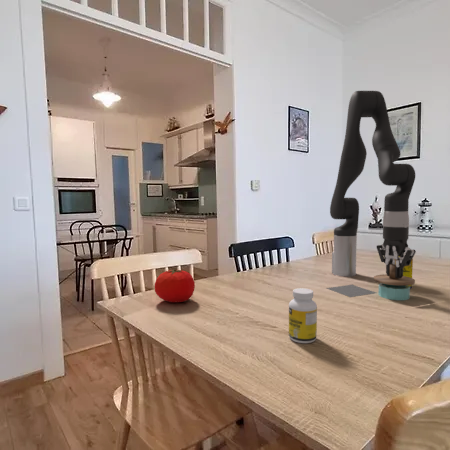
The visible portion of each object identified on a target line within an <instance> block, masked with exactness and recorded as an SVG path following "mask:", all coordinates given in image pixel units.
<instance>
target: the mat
mask: <svg viewBox="0 0 450 450" xmlns="http://www.w3.org/2000/svg"><path fill="white" fill-rule="evenodd" d="M325 289H327V290H329V291H332V292H335V293H338V294H340V295H342V296H346V297H348V298H354V297H360V296H361V297H362V296H366V295H368V296H369V295H372V294H377V292H376V291H372V290H370V289H368V288H367V289H366V288H363V287H361V286H357V285H354V284H346V285H340V286H332V287H326V288H325Z"/></svg>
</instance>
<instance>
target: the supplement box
mask: <svg viewBox="0 0 450 450" xmlns="http://www.w3.org/2000/svg"><path fill="white" fill-rule="evenodd" d="M398 257H400V256H398ZM413 263H414V259H412V261H411V263H410V265H409V266H404V267H403V276H406V277H410V278H412V279H413V265H414V264H413ZM393 264H396V261H395V259H394V262H393ZM408 286H410V289H412V288H413V285H408Z"/></svg>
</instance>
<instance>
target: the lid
mask: <svg viewBox="0 0 450 450" xmlns="http://www.w3.org/2000/svg"><path fill="white" fill-rule="evenodd" d="M395 271H396V264H390V273H389V276H387V274H386V273H385V274H377V275H374V277H373V280H374V281H375V282H376V283H378V284H379V283H383V284H389V285H399V286H406V285H412V286H413V285H415V283H416V280H415V279H414V278H413V277H412V278H410V277H406V276H403V277H402V278H399V279H398V278H395Z"/></svg>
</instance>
